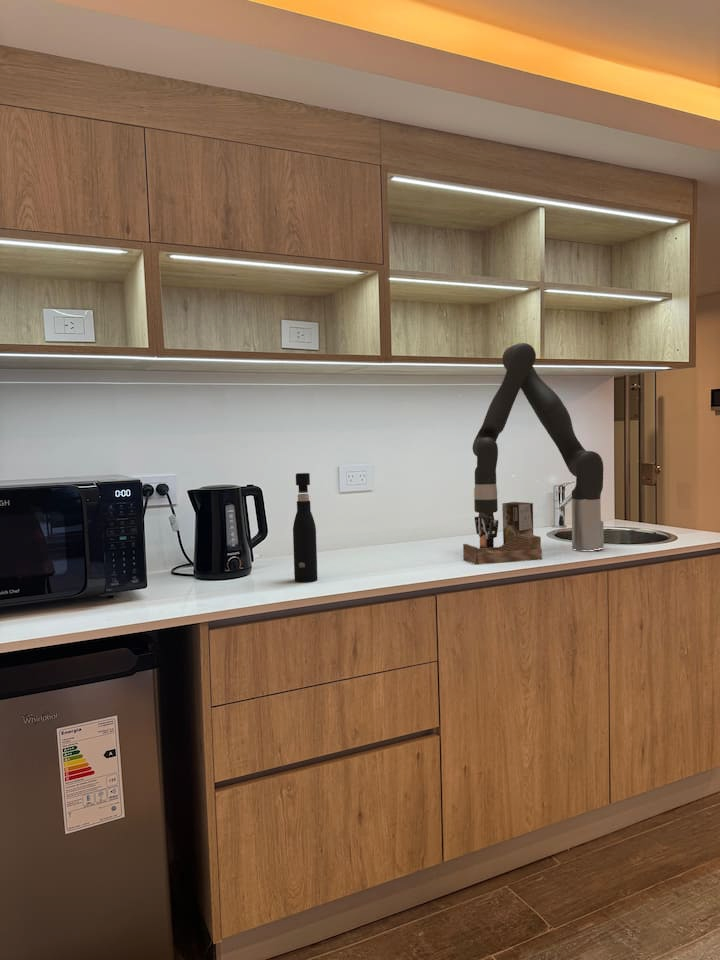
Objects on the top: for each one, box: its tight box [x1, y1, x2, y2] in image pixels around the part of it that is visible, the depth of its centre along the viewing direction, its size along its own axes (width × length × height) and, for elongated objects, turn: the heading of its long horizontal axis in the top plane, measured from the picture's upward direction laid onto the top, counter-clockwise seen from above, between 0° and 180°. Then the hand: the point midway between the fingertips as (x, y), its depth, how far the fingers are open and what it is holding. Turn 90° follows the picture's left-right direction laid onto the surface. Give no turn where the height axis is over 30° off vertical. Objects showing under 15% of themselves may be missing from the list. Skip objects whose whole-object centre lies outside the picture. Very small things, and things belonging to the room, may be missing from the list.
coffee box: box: [501, 501, 534, 545], centre depth 232 cm, size 9×6×16 cm
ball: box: [479, 534, 495, 548], centre depth 224 cm, size 5×5×5 cm
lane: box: [462, 534, 543, 565], centre depth 213 cm, size 22×9×7 cm, turn 104°
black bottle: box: [292, 472, 319, 584], centre depth 188 cm, size 6×6×30 cm
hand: (486, 548), depth 224 cm, fingers closed on ball, 4 cm apart
